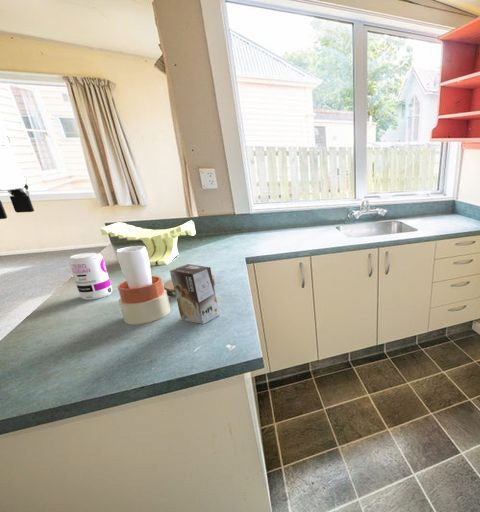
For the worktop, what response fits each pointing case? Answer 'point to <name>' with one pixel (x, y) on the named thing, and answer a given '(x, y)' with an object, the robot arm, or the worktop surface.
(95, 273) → the supplement can
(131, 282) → the white tumbler
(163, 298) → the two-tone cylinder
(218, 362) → the worktop surface
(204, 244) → the worktop surface
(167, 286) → the brown flat disc
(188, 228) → the slatted curved stool
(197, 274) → the coffee box
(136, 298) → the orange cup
